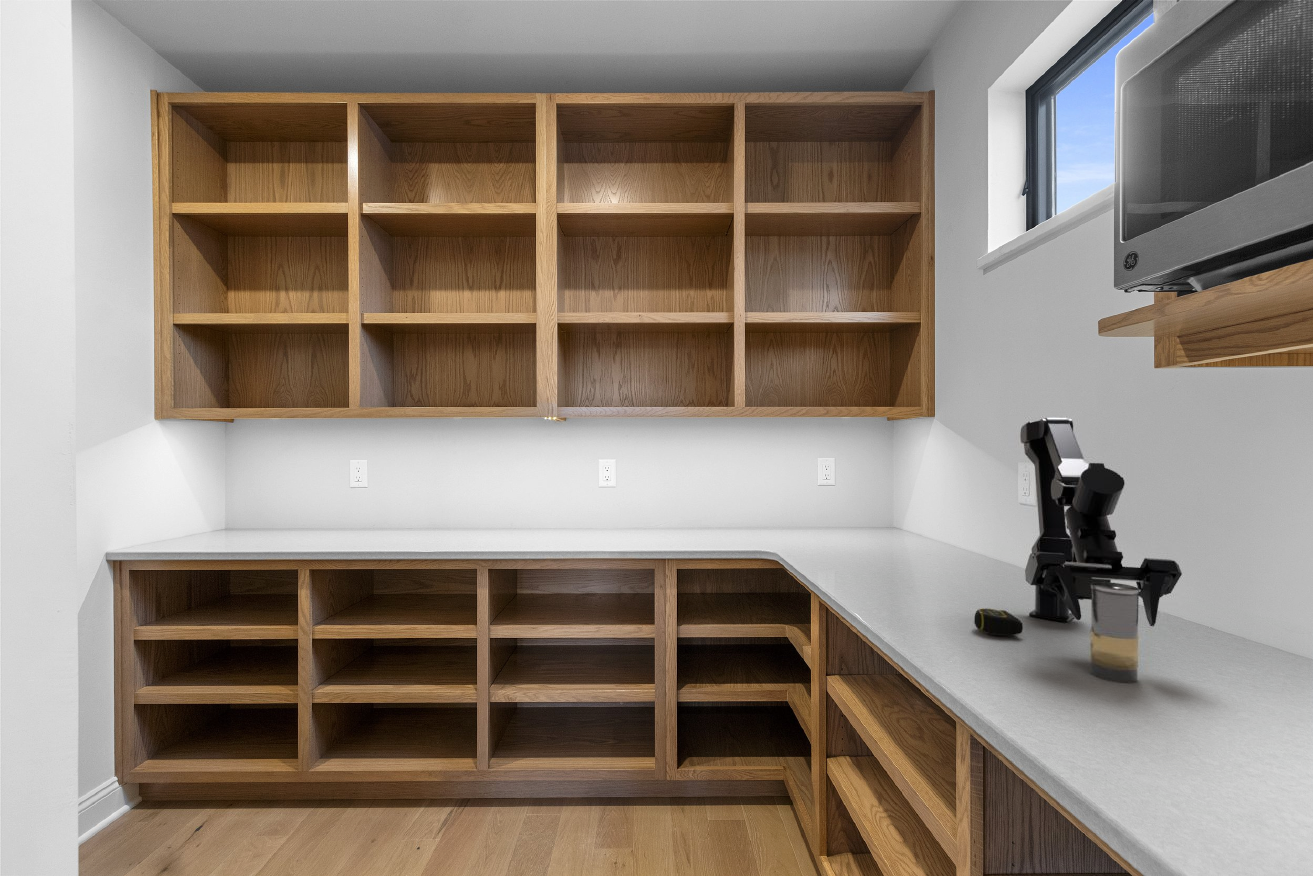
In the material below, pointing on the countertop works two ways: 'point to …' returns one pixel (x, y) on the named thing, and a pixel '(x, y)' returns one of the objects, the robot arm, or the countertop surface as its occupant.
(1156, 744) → the countertop surface
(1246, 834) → the countertop surface
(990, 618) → the tape measure
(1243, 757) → the countertop surface
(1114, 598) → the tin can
